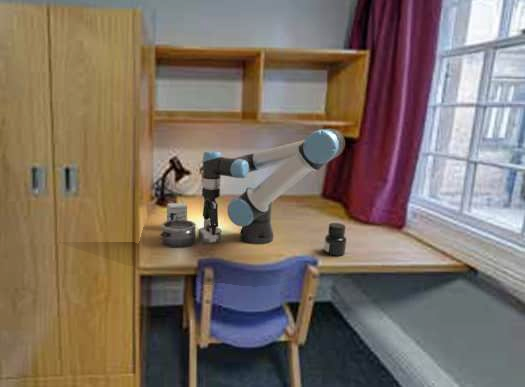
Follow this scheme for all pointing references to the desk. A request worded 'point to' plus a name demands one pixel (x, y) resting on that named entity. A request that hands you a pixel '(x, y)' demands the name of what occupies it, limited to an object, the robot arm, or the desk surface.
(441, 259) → the desk surface
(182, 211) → the ink box
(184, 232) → the pot
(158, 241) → the desk surface
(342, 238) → the ink bottle
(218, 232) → the lid
